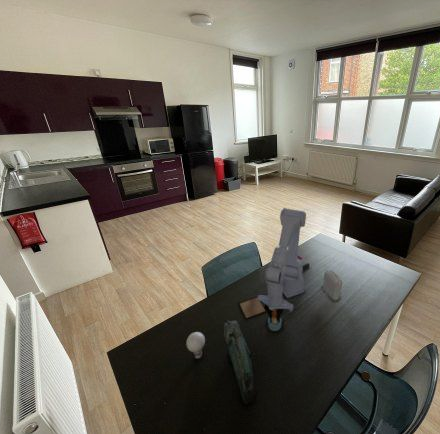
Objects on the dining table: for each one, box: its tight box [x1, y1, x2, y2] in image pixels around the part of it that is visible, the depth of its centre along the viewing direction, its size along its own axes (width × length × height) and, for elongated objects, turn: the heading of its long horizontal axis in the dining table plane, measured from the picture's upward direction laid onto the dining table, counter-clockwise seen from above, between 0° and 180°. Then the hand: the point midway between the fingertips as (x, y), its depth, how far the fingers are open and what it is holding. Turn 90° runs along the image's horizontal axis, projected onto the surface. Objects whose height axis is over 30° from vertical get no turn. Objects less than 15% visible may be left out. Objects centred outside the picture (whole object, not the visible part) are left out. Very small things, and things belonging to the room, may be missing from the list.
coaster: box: [239, 297, 266, 319], centre depth 108 cm, size 9×9×1 cm
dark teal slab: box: [223, 319, 255, 405], centre depth 77 cm, size 20×6×20 cm, turn 23°
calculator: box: [297, 254, 310, 272], centre depth 133 cm, size 11×4×15 cm
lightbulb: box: [185, 331, 206, 360], centre depth 85 cm, size 6×6×11 cm
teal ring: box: [267, 317, 283, 332], centre depth 99 cm, size 5×6×3 cm
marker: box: [271, 309, 279, 325], centre depth 98 cm, size 3×3×6 cm
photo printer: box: [322, 268, 343, 301], centre depth 114 cm, size 10×4×12 cm, turn 23°
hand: (274, 318), depth 98 cm, fingers closed on marker, 3 cm apart
